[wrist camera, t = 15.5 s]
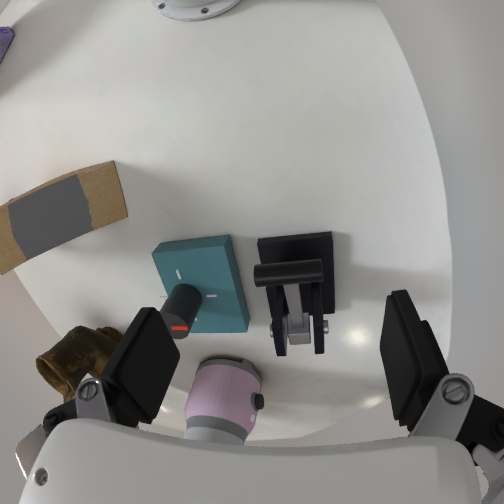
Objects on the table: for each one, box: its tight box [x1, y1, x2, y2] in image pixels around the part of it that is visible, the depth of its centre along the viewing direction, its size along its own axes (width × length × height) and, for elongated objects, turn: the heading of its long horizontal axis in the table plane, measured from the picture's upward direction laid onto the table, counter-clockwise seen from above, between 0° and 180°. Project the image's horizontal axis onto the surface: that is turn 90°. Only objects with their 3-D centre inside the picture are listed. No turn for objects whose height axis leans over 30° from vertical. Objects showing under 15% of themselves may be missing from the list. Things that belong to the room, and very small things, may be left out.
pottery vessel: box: [36, 326, 123, 403], centre depth 43 cm, size 25×11×20 cm, turn 18°
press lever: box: [254, 259, 323, 345], centre depth 25 cm, size 12×5×2 cm, turn 10°
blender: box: [183, 359, 264, 445], centre depth 35 cm, size 16×12×32 cm
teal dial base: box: [152, 235, 250, 333], centre depth 38 cm, size 14×11×3 cm
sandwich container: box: [0, 161, 128, 275], centre depth 29 cm, size 9×15×15 cm, turn 97°
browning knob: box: [160, 284, 202, 339], centre depth 35 cm, size 4×4×6 cm
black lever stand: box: [257, 231, 335, 356], centre depth 32 cm, size 12×9×12 cm
